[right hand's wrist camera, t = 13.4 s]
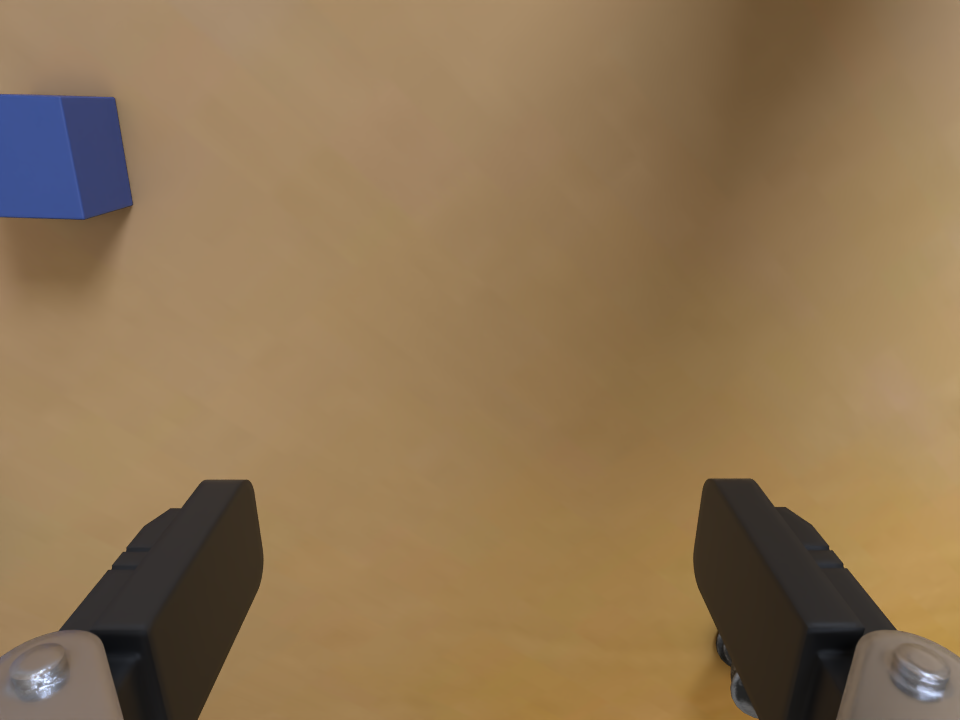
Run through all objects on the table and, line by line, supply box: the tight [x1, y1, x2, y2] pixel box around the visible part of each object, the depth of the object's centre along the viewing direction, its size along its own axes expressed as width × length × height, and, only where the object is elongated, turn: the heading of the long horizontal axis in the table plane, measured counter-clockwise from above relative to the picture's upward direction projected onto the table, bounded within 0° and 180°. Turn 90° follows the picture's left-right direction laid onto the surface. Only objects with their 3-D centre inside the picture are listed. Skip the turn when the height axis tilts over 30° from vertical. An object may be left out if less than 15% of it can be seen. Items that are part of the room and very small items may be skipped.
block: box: [0, 94, 133, 220], centre depth 29 cm, size 5×4×4 cm
